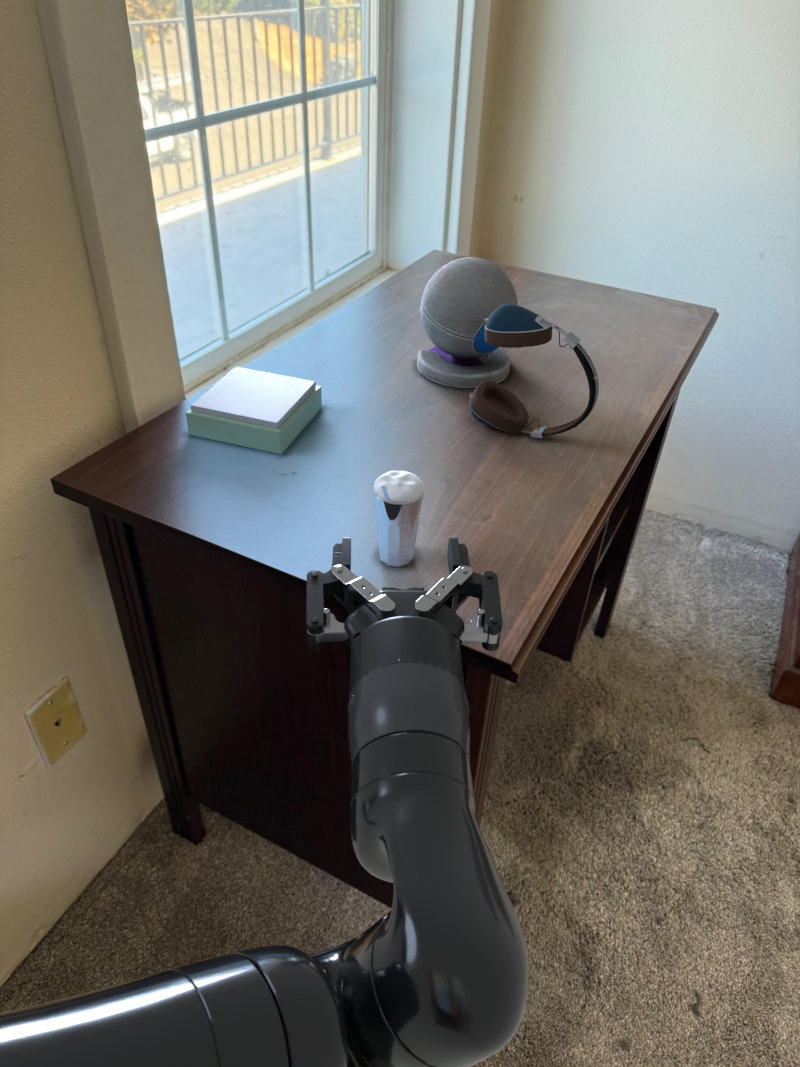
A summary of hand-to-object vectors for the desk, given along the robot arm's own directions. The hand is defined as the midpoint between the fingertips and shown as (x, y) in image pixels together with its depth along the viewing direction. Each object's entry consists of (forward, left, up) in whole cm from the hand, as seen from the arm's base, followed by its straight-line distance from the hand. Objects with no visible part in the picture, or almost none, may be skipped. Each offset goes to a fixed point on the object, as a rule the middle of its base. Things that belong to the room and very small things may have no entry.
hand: (400, 545), depth 60 cm
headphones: (+1, +37, -8) cm, 38 cm away
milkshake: (-3, +8, -8) cm, 12 cm away
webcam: (-7, +51, -8) cm, 52 cm away
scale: (-27, +27, -8) cm, 39 cm away
